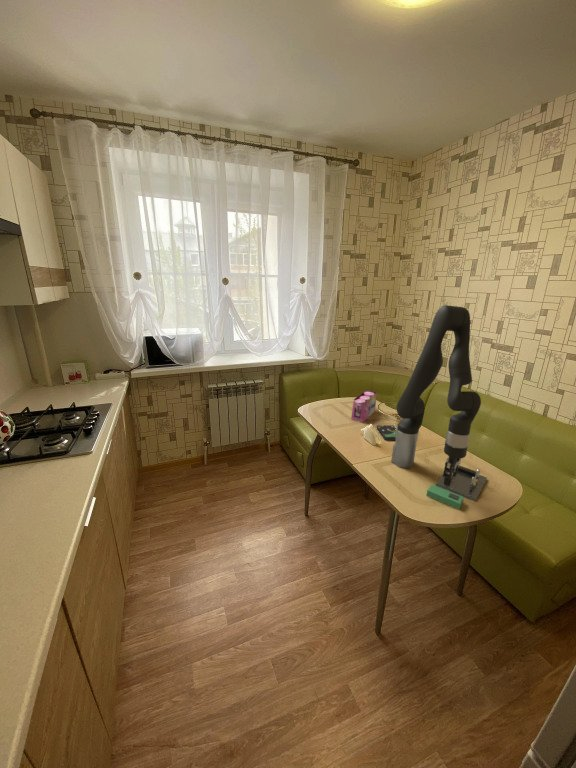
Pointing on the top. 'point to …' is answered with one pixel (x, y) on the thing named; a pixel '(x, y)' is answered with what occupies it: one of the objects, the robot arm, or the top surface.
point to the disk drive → (387, 432)
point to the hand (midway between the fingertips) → (449, 480)
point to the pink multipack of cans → (364, 406)
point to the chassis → (465, 483)
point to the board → (445, 496)
